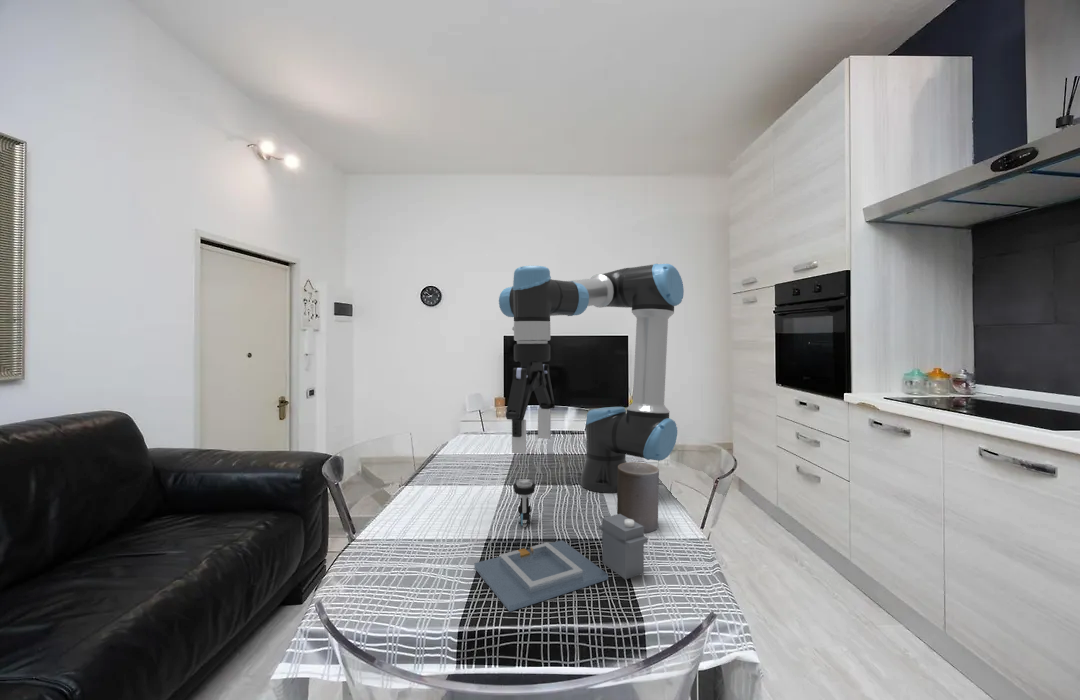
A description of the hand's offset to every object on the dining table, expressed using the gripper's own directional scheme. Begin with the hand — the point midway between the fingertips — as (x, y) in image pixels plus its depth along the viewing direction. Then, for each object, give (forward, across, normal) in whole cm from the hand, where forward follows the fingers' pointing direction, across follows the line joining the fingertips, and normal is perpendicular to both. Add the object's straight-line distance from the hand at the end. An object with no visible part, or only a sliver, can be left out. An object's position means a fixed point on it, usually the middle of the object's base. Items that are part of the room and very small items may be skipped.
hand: (532, 445), depth 94 cm
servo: (+22, 0, +19) cm, 29 cm away
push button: (+22, -12, -7) cm, 27 cm away
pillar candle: (+22, -21, +18) cm, 36 cm away
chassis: (+22, +8, +4) cm, 24 cm away
